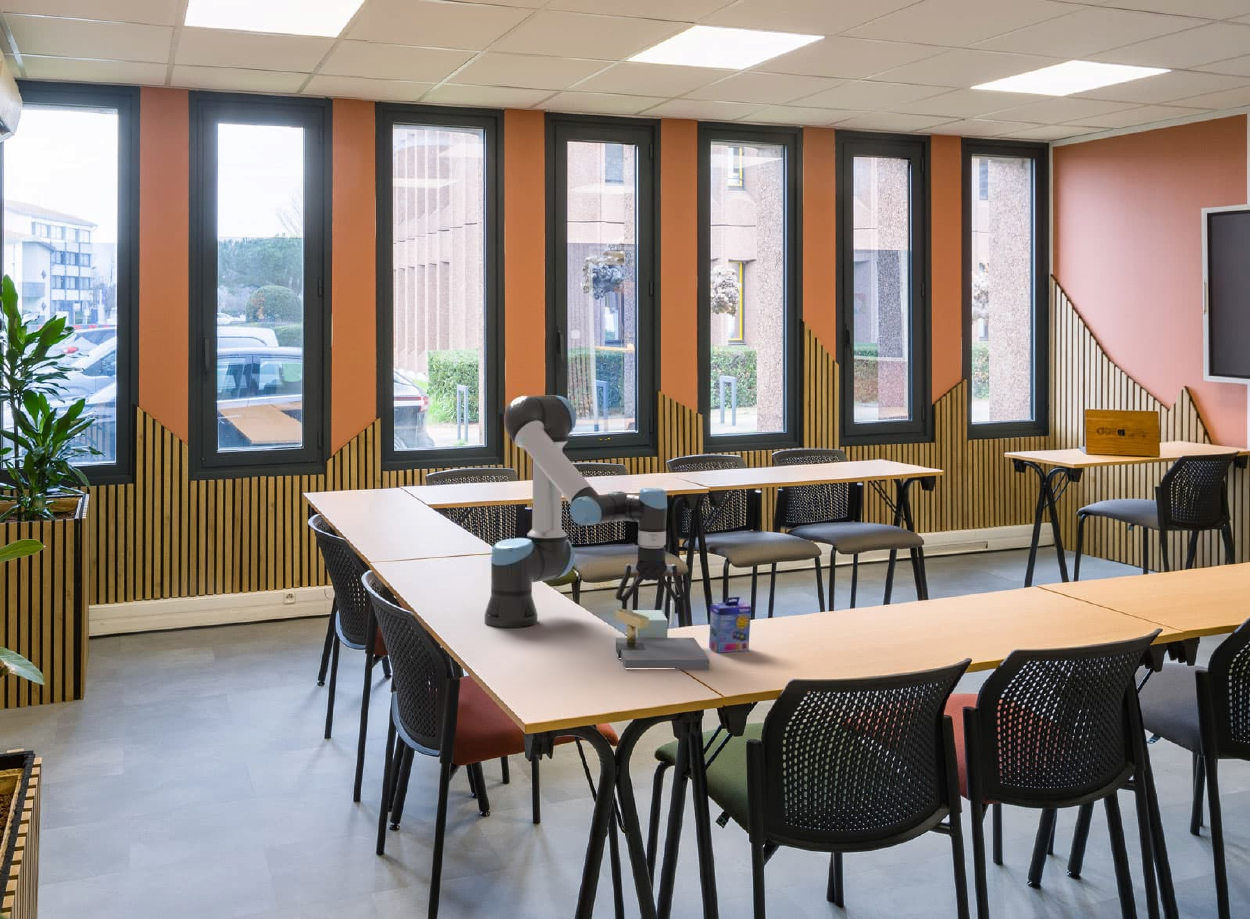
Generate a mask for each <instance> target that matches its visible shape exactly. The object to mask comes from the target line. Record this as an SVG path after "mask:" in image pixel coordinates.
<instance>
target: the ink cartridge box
mask: <svg viewBox="0 0 1250 919" xmlns="http://www.w3.org/2000/svg"><path fill="white" fill-rule="evenodd" d="M740 599H741V598H740V596H731V597H727V599H726V601H725V602H718V603H710V614H709V615H710V616H709V619H710V620H709V638H708V639H709V640H708V641H709V642H708V643H709V644H708V647H709V648H708V649H710V650H712V651H714V652H715V653H717V654H721V653H731V652H732V653H733V652H743V651H744V652H746V651H749V649H750V632H751V631H750V630H751V613H752V612H751V611H752V606H751V605H749V604H747V603H745V602H743V601H740ZM734 600H735V601H734Z"/></svg>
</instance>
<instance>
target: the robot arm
mask: <svg viewBox="0 0 1250 919" xmlns="http://www.w3.org/2000/svg"><path fill="white" fill-rule="evenodd" d="M503 415H504V416H503V422H504V423H503V424H504V427H505V431H506V432H507V434H508V436H509V438H510V439H511V441H512V442H513V443H514V444H515V446H517V447H518V448H522V449H524V450H525V452H526V453H527V454H528V456H530V458H531V459H532V517H531V518H532V522H531V523H532V527H531V529H530V530H529V532H527V533H526V534H527V535H526V538H525V537H515V538H506V539H502V540H500V541H497V542H496V543H495V544H494V545H493V546H492V549H491V557H490V563H491V564H490V565H491V567H490V568H491V572H490V573H491V574H490V575H491V576H490V578H491V581H490V582H491V583H490V587H491V588H490V590H491V591H490V597H489V600H488V603H487V606H486V609H485V612H484V623H485V624H486V625H488V626H493V627H498V628H522V627H521V626H526V627H528V626H527V625H531V626H533V625H532V624H534V623H536V622H537V623H538V616H539V615H538V612H537V608H536V605H535V601H534V599H533V598H534V597H533V591H532V590H533V583H536V582H537V583H538V582H542V581H549V580H550V581H551V580H556V579H558V578H562V577H564V576H566V575H568V573H569V572H570V571H571V569H572V568H573V566H574V563H575V558H576V555H575V549H574V547H573V546H572V542H570V540H569V539H567V536H568V534H567V532H565V531H564V530H563V528H562V527H563V526H562V525H563V524H562V522H563V520H562V517H563V516H562V513H563V512H562V511H563V509H562V508H563V506H562V505H563V497H564V498H565V500H566V501H567V502H568V503H569V505H570V506H569V507H570V509H569V514H570V515H571V519H572V521H573V522H574V523H575V524H577V525H578V526H595V525H599V524H606V523H613V522H622V521H627V522H635V523H638V529H637V530H638V532H637V537H638V538H637V544H638V547H637V561H636V564H630V563H626V564H625V568H624V569H625V571H624V572H625V573H624V574H623V577H622V580H620V584H619V586H618V588H617V591H616V593H615V599H616V600H618V601H621V609H625V610H628V611H631V603H630V601H629V599H630V598H631V596H633V594H634V593H635V591H636V590H637V588H638V587H639V586H640V584H641V583H643V581H647V582H649V581H657V582H658V580H660V582H661V583H662V584H663V586H664V587H665V589H666V590H667V592H668V594H670V596H671V598H672V599H673V600H670V602H669V603H670V607H669V608H670V609H669V612H670V613H669V625H670V626H671V627H675V614H679V605H680V604H679V602H681V601H685V600H686V598H687V597H686V594H685V592H684V589H683V587H682V584H681V581H680V579H679V575H678V567H677V564H675V563H672V564H666V555H667V554H666V552H667V550H666V547H665V545H667V543H666V542H667V514H668V498H667V497H668V496H667V495H668V494H667V491H666V490H665V489H663V488H656V487H655V488H652V487H648V488H647V487H646V488H645V487H644V488H641V489H640V490H639V491H638V492H639V493H638V494H637V493H631V492H629V493H628V492H624V491H610V492H608V493H607V494H599V493H598V492H597V491H596V490H595V489H594V488H593V486H592V485H591V484H590V483H589V482H588V481H587V480H586V478H585V477H584V476H583V474H581V472H580V471H579V470H578V469H577V467H576V466H575V465H574V464H573V463H572V462H571V461H570V459H569V458H568V457H567V456H566V455H565V453H564V452H563V448H564V446H565V445H566V444H567V443H568V441H569V440H568V436H569V434H570V433H572V432H573V430H574V429H575V426H576V424H577V415H576V410H575V408H574V406H573V404H572V403H571V402H570V401H569V400H568V399H567V398H565V397H563V396H562V395H561V396H560V395H553V394H546V395H545V394H544V395H520V396H518V397H516V398H514V399H513V400H512V401H510V403H509V404H508V405H507V407H506V409H505V412H504V414H503ZM635 570H636V571H637V572H638V573H637V576H636V577H635V579H634V581H633V582H632V584H630V586H629V587H628V589H627V590H626V591H625V589H626V587H627V584H628V582H629V579H630V577H631V574H633V572H634V571H635ZM667 570H668V572H669V574H671V576H672V578H673V582H674V584H675V587H676V589H677V592H678V593H677V594H678V595H677V594H676V593H675V591H674V590H673V588H672V587H671V585H670V584H669V583H668V581H667V580H666V578H665V576H664V574H665V573H666V571H667ZM624 591H625V592H624ZM537 623H536V624H537ZM624 624H625V626H626V627H627V624H626V623H624ZM534 625H535V624H534Z"/></svg>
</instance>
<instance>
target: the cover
mask: <svg viewBox="0 0 1250 919" xmlns="http://www.w3.org/2000/svg"><path fill="white" fill-rule="evenodd" d="M631 612H634V613H637V614H640V615H643V616H646V617H649V626H648V628H641V629H640V628H637V627H636V638H668V627H669V624H668V623H669V620H668V619H667V617H666V615H665V613H664V612H663V610H661V609H658V610H657V609H652V610H651V609H650V610H649V609H647V610H646V609H644V610H643V609H641V610H640V609H637V610H636V609H634V610H633V609H632V611H631Z"/></svg>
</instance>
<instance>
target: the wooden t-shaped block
mask: <svg viewBox="0 0 1250 919" xmlns="http://www.w3.org/2000/svg"><path fill="white" fill-rule="evenodd" d="M614 611H615V615H614V616H615V617H614V618H615V619H614V620H615V621H616V622H619V623H623V624H625V623H626V624H627V626H626V638H627V643H626V645H628V646H635V645H636V627H637V628H640V629H641V628H648V626H649V617H646V616H643V615H640V614H637V613H634V612H632V611H631V610H630V611H628V610H625V609H622V608H621V609H616V610H614ZM626 624H625V625H626Z"/></svg>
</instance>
